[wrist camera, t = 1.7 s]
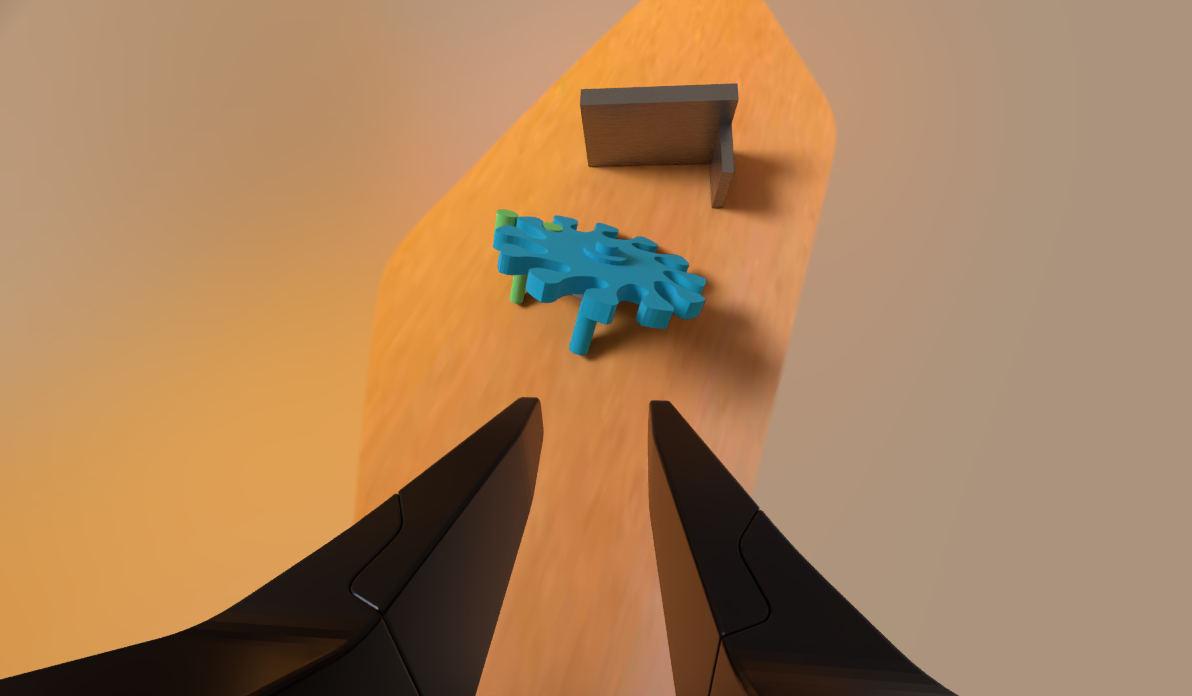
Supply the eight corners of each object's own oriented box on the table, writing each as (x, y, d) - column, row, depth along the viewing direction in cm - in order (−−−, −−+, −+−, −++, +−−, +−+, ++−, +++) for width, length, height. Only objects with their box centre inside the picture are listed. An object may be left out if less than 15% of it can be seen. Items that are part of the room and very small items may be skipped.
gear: (739, 266, 22) (658, 324, 14) (696, 361, 25) (609, 451, 17) (566, 191, 25) (425, 203, 18) (547, 281, 28) (420, 325, 21)
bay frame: (722, 207, 24) (742, 150, 20) (586, 209, 25) (577, 154, 21) (719, 149, 26) (737, 83, 21) (589, 152, 26) (580, 89, 22)
